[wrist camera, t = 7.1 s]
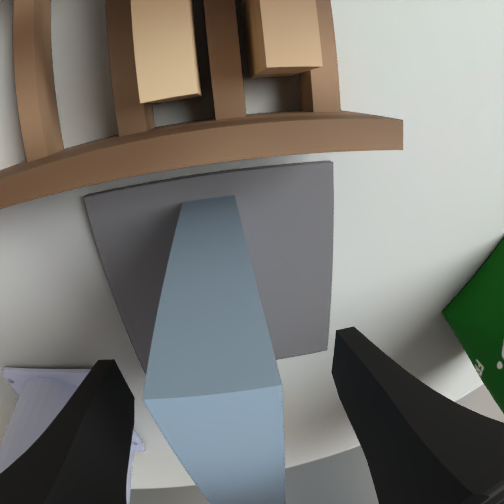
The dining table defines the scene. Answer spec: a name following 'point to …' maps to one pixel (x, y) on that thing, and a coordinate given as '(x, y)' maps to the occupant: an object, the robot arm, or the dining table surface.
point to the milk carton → (483, 322)
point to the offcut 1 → (165, 50)
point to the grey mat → (257, 238)
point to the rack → (176, 135)
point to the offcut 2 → (281, 37)
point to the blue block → (217, 362)
